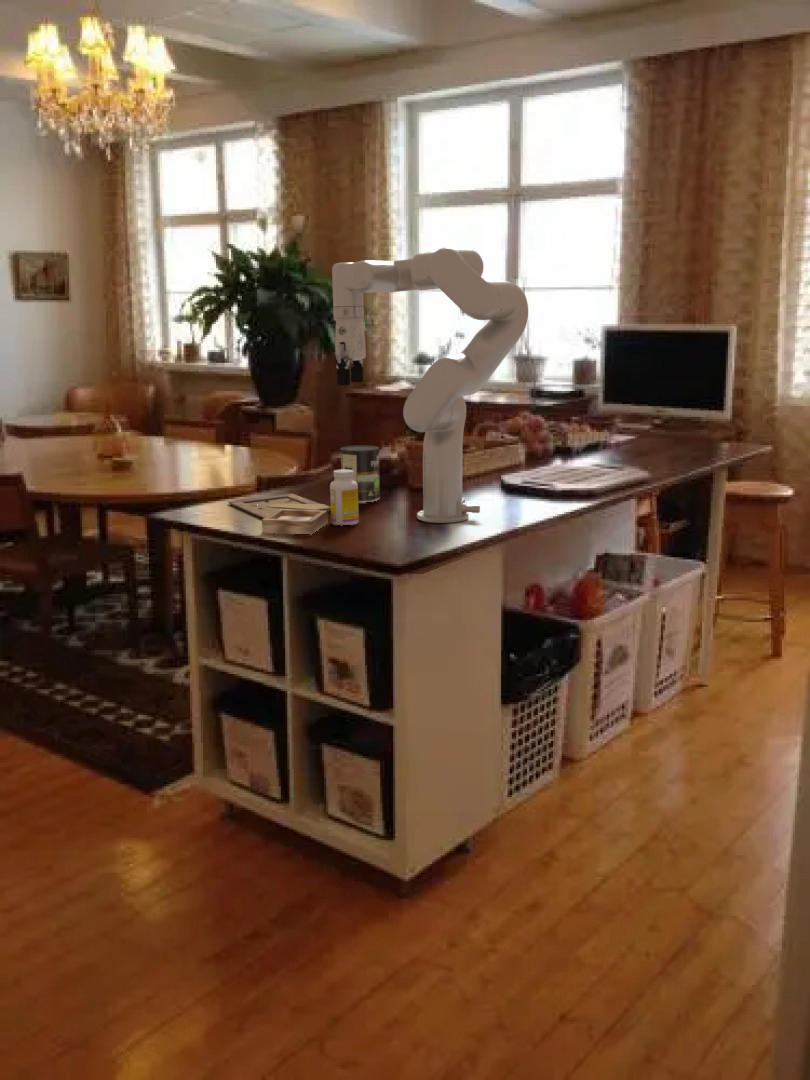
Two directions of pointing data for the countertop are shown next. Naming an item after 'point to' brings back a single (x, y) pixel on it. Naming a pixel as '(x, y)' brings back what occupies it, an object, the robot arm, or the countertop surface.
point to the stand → (294, 521)
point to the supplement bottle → (344, 498)
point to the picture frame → (277, 504)
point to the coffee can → (363, 470)
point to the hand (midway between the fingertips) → (350, 383)
